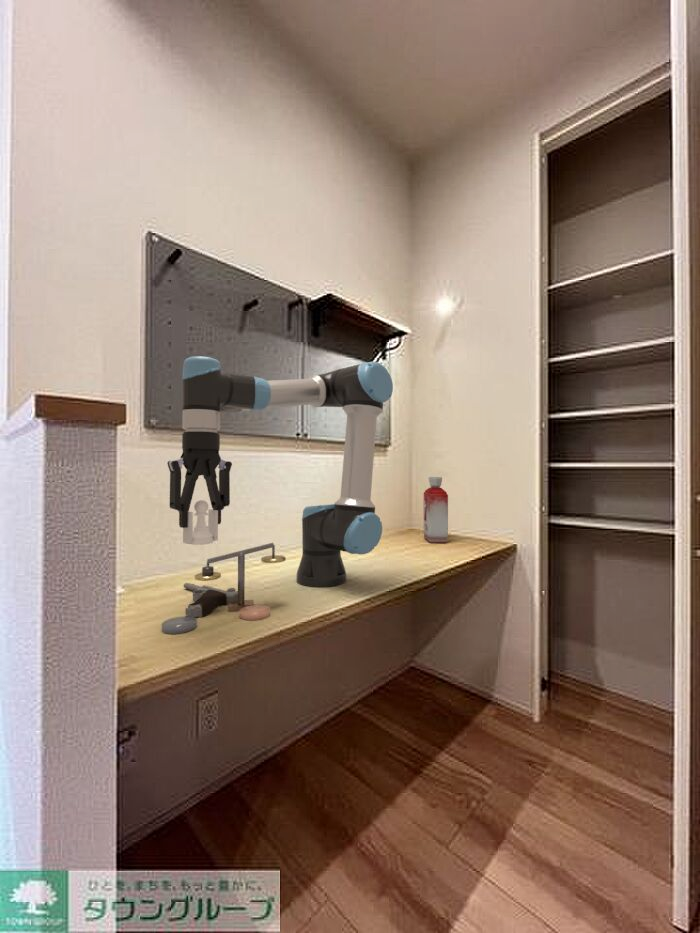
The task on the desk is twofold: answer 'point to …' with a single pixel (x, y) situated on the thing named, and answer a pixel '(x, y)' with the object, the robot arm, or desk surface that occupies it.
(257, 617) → the pink disc
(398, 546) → the desk surface
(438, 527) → the bottle
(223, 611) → the desk surface
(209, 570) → the balance
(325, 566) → the robot arm
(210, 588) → the handgun
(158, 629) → the desk surface
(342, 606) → the desk surface
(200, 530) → the chess pawn
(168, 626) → the dish slate
